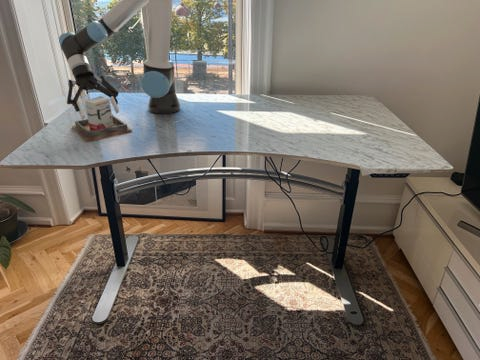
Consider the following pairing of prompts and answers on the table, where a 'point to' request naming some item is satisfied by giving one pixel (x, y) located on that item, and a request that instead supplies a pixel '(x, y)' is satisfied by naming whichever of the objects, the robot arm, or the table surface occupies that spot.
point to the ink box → (99, 113)
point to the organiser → (91, 135)
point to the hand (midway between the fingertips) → (101, 114)
